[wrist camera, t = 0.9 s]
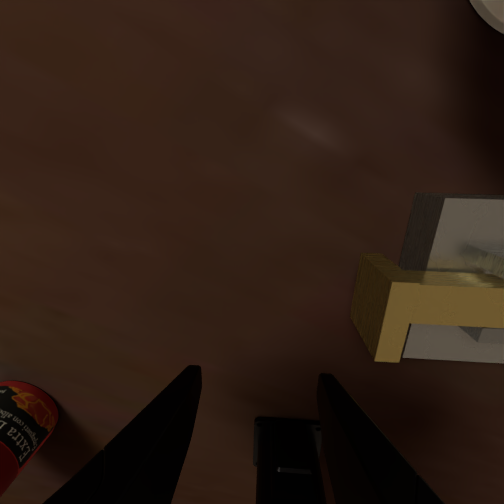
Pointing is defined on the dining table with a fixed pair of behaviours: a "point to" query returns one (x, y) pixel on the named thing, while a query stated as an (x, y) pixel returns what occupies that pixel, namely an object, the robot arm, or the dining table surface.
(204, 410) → the dining table surface
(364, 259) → the key
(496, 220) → the socket
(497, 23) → the decorative vase
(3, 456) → the canned food
